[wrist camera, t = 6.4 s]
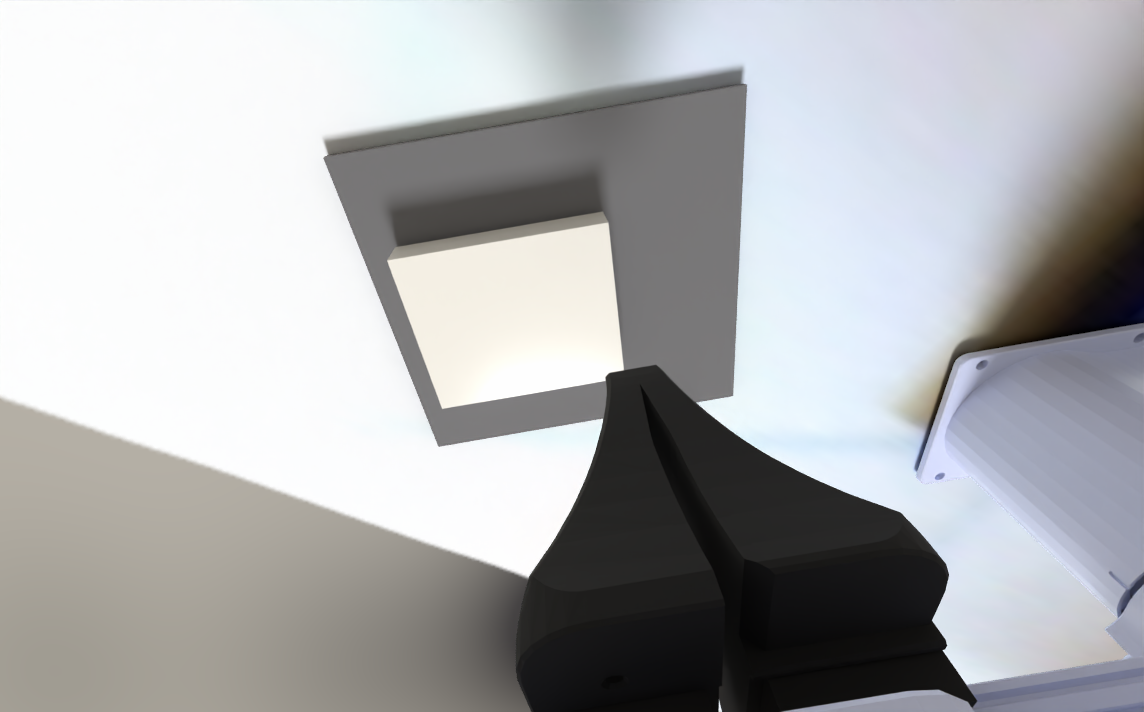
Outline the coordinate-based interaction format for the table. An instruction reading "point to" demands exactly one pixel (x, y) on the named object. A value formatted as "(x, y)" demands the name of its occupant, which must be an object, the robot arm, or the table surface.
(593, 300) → the glazed tile
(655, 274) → the mat
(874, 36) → the table surface
